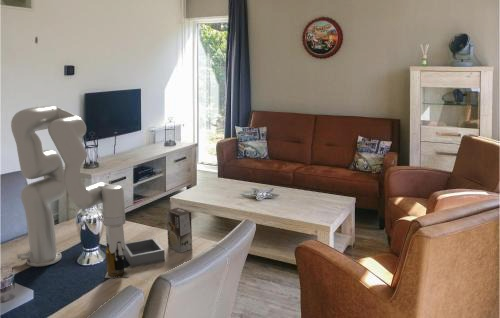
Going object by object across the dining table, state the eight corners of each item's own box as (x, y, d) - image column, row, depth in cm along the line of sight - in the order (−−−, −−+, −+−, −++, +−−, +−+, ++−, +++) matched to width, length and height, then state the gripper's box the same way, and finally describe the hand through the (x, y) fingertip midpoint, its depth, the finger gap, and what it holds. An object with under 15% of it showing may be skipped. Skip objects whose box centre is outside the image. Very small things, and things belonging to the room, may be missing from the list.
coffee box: (193, 248, 192) (192, 212, 188) (181, 253, 187) (179, 215, 184) (179, 242, 198) (178, 207, 194) (167, 247, 193) (165, 210, 190)
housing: (131, 267, 174) (131, 256, 174) (123, 254, 187) (122, 243, 186) (164, 260, 180) (164, 249, 179) (154, 247, 193) (153, 237, 192)
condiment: (108, 269, 173) (106, 239, 170) (131, 268, 174) (129, 238, 171) (104, 278, 166) (102, 247, 163) (128, 277, 167) (126, 246, 164)
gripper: (99, 214, 171) (102, 259, 175) (108, 229, 157) (112, 277, 160) (119, 211, 175) (122, 255, 179) (130, 225, 160) (133, 273, 164)
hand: (117, 265), depth 170 cm, fingers closed on condiment, 6 cm apart
